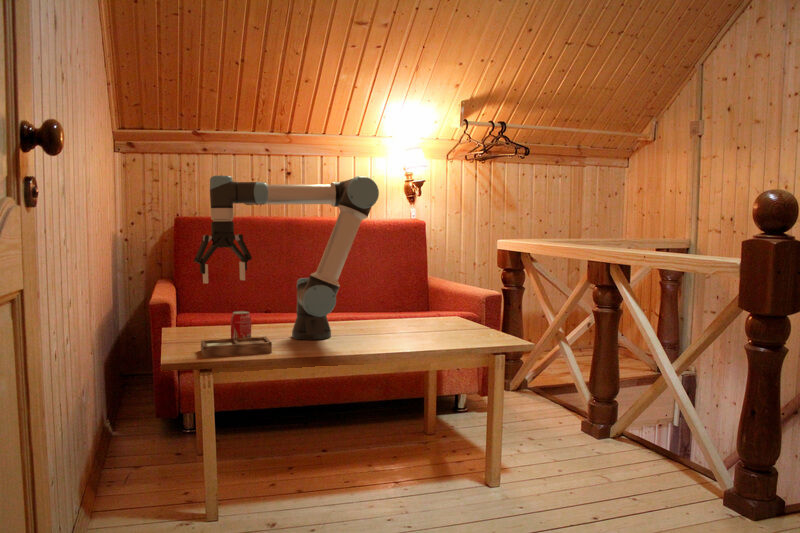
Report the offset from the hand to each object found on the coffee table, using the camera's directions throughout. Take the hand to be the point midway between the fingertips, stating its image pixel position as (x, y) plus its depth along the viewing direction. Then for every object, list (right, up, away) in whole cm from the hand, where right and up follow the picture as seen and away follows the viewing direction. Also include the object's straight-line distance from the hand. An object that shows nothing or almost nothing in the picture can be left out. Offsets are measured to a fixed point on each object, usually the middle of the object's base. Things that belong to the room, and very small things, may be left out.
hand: (224, 281), depth 197 cm
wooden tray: (+5, -24, -5) cm, 25 cm away
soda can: (+4, -23, +6) cm, 24 cm away
